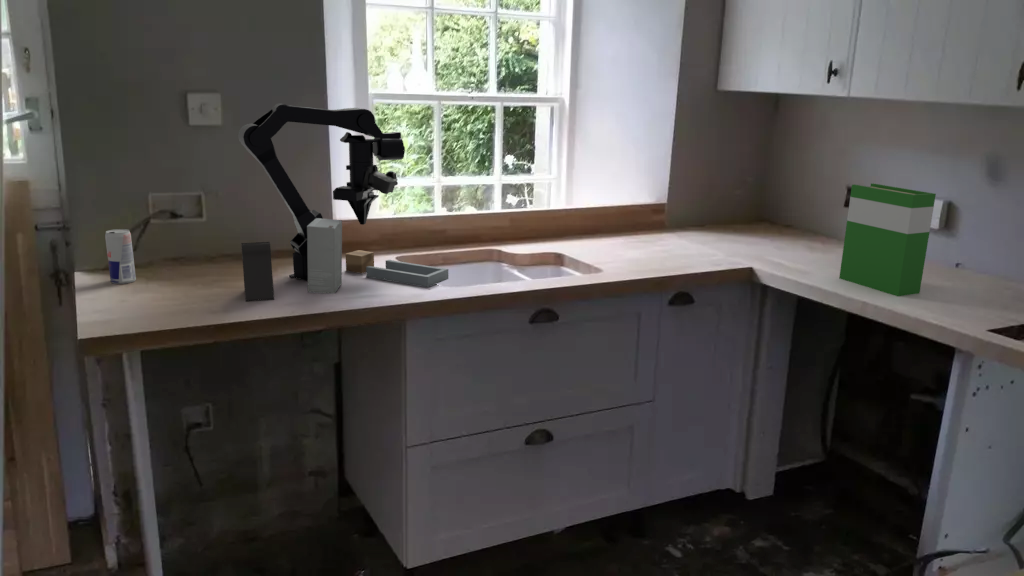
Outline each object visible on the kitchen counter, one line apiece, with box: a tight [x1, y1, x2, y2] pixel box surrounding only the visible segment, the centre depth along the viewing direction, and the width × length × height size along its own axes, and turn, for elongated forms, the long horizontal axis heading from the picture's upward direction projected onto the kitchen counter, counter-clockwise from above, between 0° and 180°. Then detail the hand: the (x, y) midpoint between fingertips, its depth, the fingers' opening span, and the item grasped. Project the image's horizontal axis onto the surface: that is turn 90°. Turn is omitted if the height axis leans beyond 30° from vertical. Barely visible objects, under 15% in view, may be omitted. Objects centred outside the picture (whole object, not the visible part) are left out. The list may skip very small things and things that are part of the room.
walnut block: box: [345, 249, 375, 274], centre depth 200 cm, size 5×5×4 cm
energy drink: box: [104, 228, 137, 285], centre depth 184 cm, size 5×5×12 cm
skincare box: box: [307, 218, 343, 294], centre depth 181 cm, size 8×7×16 cm
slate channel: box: [365, 259, 449, 288], centre depth 194 cm, size 9×18×2 cm, turn 62°
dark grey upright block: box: [240, 241, 275, 303], centre depth 175 cm, size 9×6×12 cm, turn 19°
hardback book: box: [839, 182, 937, 297], centre depth 193 cm, size 18×7×24 cm, turn 25°
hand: (362, 224), depth 197 cm, fingers closed
